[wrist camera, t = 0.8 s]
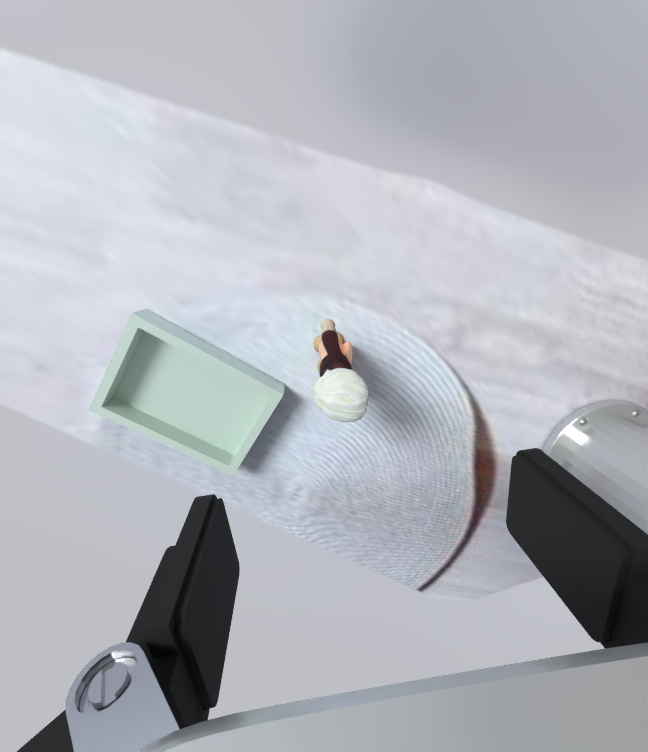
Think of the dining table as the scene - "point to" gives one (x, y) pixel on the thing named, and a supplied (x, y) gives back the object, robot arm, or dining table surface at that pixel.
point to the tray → (185, 392)
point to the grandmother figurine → (338, 378)
